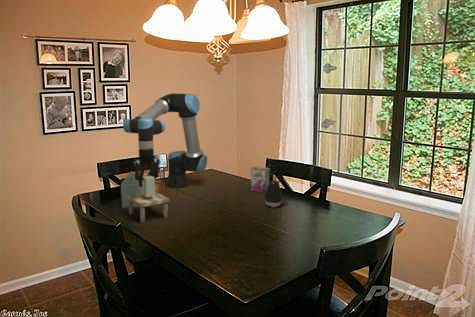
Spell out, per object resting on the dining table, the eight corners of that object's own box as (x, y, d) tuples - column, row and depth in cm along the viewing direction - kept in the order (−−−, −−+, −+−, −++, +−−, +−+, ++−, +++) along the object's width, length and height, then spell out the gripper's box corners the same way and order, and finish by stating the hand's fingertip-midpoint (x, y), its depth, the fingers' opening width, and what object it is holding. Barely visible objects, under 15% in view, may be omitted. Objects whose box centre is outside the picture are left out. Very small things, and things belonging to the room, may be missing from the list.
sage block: (149, 192, 219) (148, 174, 217) (155, 195, 213) (154, 177, 211) (140, 193, 216) (139, 175, 214) (146, 197, 210) (145, 178, 208)
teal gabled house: (132, 210, 225) (130, 175, 221) (121, 207, 229) (120, 173, 225) (152, 202, 239) (151, 169, 235) (142, 200, 243) (140, 168, 239)
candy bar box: (250, 191, 264) (250, 166, 261) (254, 189, 268) (254, 165, 265) (265, 194, 258) (266, 169, 255) (269, 192, 262) (269, 167, 259)
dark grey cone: (285, 205, 235) (286, 180, 232) (274, 210, 228) (275, 183, 225) (271, 202, 242) (272, 177, 239) (260, 206, 234) (261, 180, 231)
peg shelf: (155, 208, 228) (154, 191, 226) (169, 217, 214) (169, 199, 212) (127, 213, 219) (126, 195, 217) (141, 223, 205) (140, 204, 203)
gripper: (158, 145, 218) (160, 187, 222) (126, 149, 207) (128, 192, 212) (165, 147, 212) (166, 190, 216) (132, 151, 201) (134, 196, 206)
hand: (147, 191), depth 214 cm, fingers closed on sage block, 5 cm apart
